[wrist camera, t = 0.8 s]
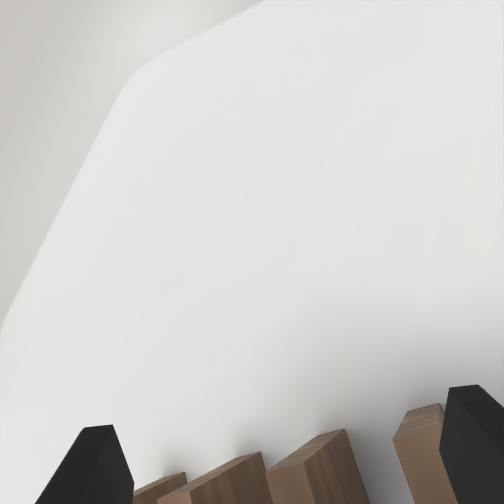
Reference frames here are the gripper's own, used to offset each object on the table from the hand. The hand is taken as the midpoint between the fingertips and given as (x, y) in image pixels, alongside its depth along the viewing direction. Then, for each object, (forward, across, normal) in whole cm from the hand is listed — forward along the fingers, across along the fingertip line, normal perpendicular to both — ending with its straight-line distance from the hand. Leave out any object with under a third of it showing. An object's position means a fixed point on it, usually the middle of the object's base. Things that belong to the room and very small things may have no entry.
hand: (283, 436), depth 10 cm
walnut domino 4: (+7, -8, +12) cm, 16 cm away
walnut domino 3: (+8, -3, +14) cm, 17 cm away
